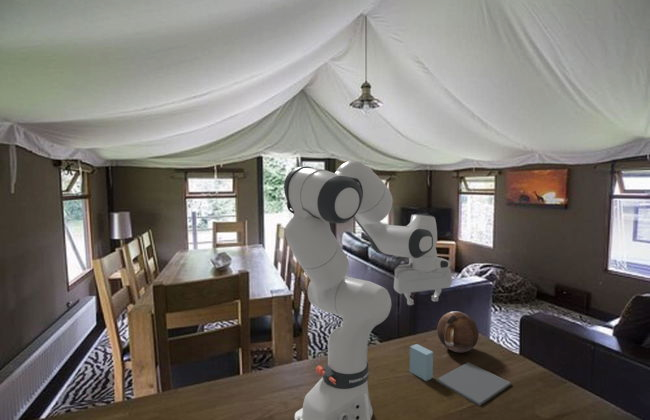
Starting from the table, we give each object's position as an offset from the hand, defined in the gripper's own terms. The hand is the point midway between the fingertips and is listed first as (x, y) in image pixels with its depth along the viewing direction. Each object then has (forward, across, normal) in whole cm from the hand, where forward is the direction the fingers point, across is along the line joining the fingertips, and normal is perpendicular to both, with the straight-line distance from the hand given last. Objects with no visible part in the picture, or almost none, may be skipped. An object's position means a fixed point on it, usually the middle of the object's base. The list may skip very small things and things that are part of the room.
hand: (422, 302), depth 111 cm
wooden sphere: (+26, +22, +11) cm, 36 cm away
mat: (+25, +13, -9) cm, 30 cm away
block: (+25, 0, 0) cm, 25 cm away
